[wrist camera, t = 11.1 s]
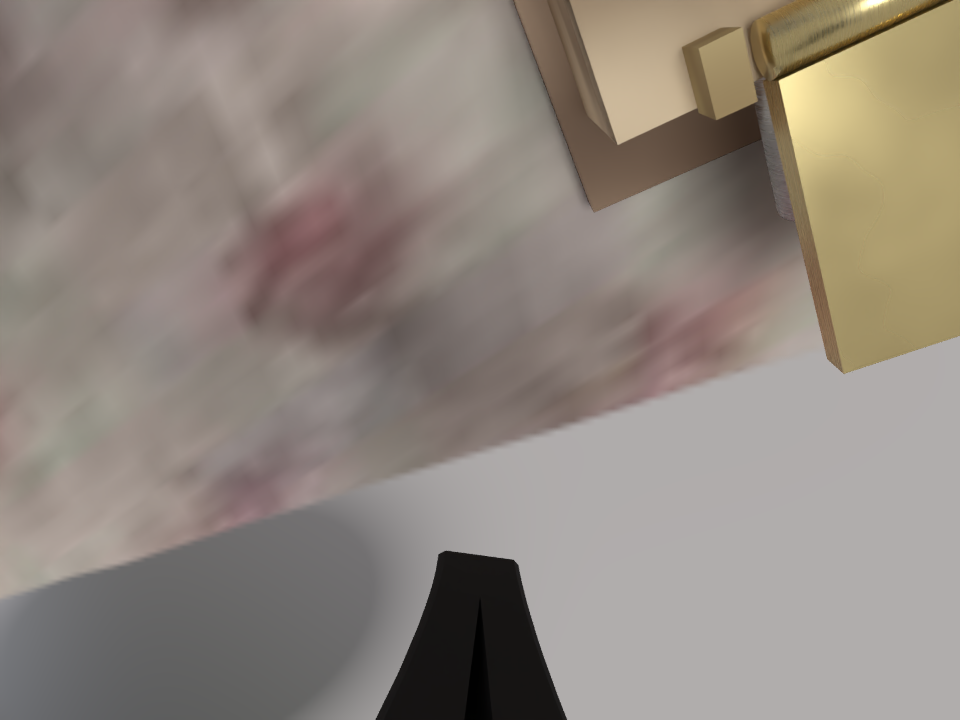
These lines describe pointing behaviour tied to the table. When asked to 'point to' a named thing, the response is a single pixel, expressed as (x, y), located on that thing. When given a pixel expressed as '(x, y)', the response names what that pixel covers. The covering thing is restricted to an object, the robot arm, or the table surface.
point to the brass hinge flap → (871, 165)
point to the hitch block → (646, 84)
